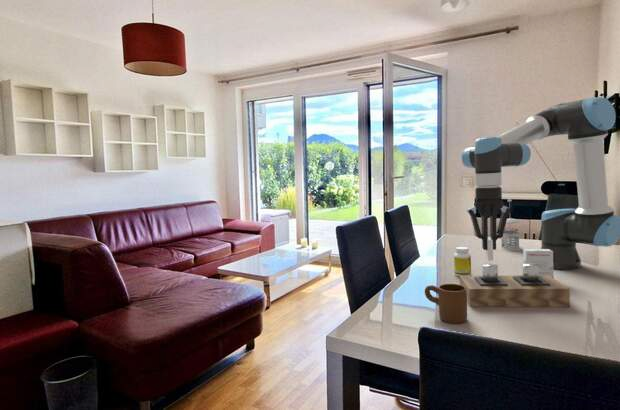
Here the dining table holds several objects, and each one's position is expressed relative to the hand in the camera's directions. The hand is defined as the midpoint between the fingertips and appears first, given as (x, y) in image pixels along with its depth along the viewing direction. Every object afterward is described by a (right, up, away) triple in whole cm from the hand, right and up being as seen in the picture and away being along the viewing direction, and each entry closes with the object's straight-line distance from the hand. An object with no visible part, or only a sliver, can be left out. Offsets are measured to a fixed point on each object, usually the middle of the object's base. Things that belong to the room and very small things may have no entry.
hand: (489, 259), depth 120 cm
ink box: (+25, -10, +15) cm, 31 cm away
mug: (-18, -16, -11) cm, 26 cm away
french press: (+42, -5, +66) cm, 79 cm away
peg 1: (+1, -8, +1) cm, 8 cm away
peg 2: (+12, -7, -1) cm, 15 cm away
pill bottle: (+3, -11, +28) cm, 30 cm away
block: (+7, -13, 0) cm, 15 cm away
